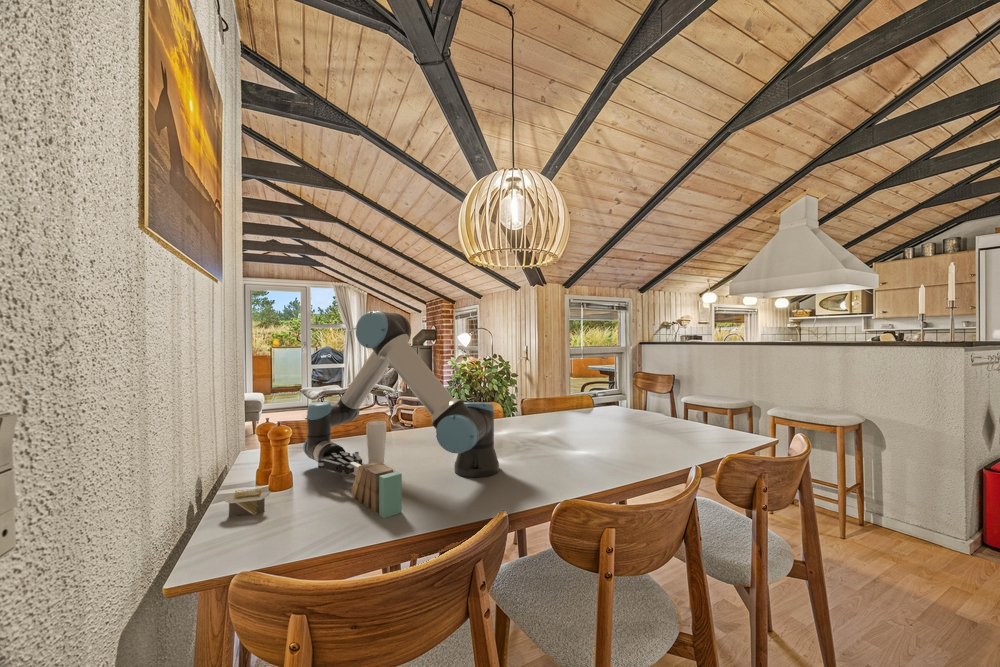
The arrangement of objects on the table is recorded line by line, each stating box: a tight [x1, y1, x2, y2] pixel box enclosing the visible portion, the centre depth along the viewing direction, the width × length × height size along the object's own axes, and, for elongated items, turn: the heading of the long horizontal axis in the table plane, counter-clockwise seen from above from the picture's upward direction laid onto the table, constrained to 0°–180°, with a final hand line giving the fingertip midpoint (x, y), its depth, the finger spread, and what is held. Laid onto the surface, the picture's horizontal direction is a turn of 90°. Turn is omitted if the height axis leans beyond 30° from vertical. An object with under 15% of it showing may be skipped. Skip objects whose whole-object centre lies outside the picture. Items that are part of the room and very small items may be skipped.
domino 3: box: [363, 464, 389, 508], centre depth 109 cm, size 5×2×10 cm, turn 134°
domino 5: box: [378, 471, 403, 519], centre depth 104 cm, size 5×2×10 cm, turn 134°
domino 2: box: [356, 463, 382, 504], centre depth 112 cm, size 5×2×10 cm, turn 134°
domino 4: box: [370, 467, 394, 513], centre depth 107 cm, size 5×2×10 cm, turn 134°
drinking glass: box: [365, 420, 387, 465], centre depth 143 cm, size 7×7×15 cm
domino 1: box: [350, 462, 377, 499], centre depth 114 cm, size 5×2×10 cm
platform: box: [223, 487, 270, 517], centre depth 103 cm, size 12×18×7 cm, turn 109°
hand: (361, 471), depth 115 cm, fingers closed
